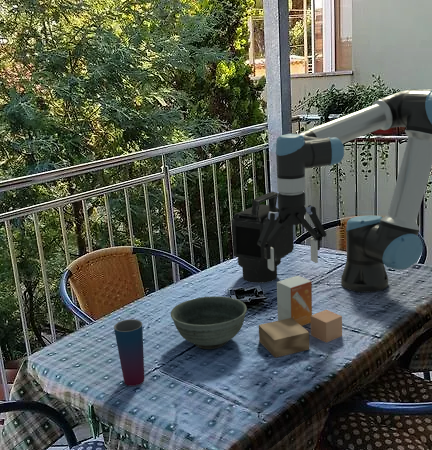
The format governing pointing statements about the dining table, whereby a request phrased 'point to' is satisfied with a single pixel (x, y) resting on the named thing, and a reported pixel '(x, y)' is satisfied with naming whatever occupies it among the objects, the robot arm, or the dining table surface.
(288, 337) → the walnut plinth
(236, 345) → the dining table surface
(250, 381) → the dining table surface
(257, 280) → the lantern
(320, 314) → the terracotta cube
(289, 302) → the small box
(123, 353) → the cup
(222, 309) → the bowl
